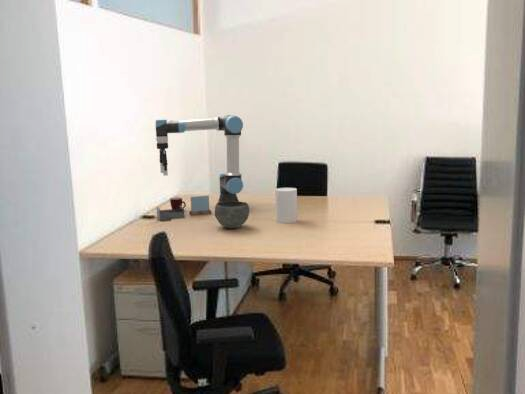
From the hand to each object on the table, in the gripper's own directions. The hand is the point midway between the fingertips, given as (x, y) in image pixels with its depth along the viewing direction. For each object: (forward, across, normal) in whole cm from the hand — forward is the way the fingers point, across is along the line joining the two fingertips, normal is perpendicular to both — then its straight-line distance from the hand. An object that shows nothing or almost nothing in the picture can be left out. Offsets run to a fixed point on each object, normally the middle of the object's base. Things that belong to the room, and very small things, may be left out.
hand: (164, 174), depth 392 cm
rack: (+27, +15, +1) cm, 31 cm away
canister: (+28, +52, +68) cm, 90 cm away
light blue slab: (+26, +14, +21) cm, 36 cm away
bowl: (+28, +57, +32) cm, 71 cm away
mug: (+28, -1, +8) cm, 29 cm away
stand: (+27, +14, +21) cm, 37 cm away
